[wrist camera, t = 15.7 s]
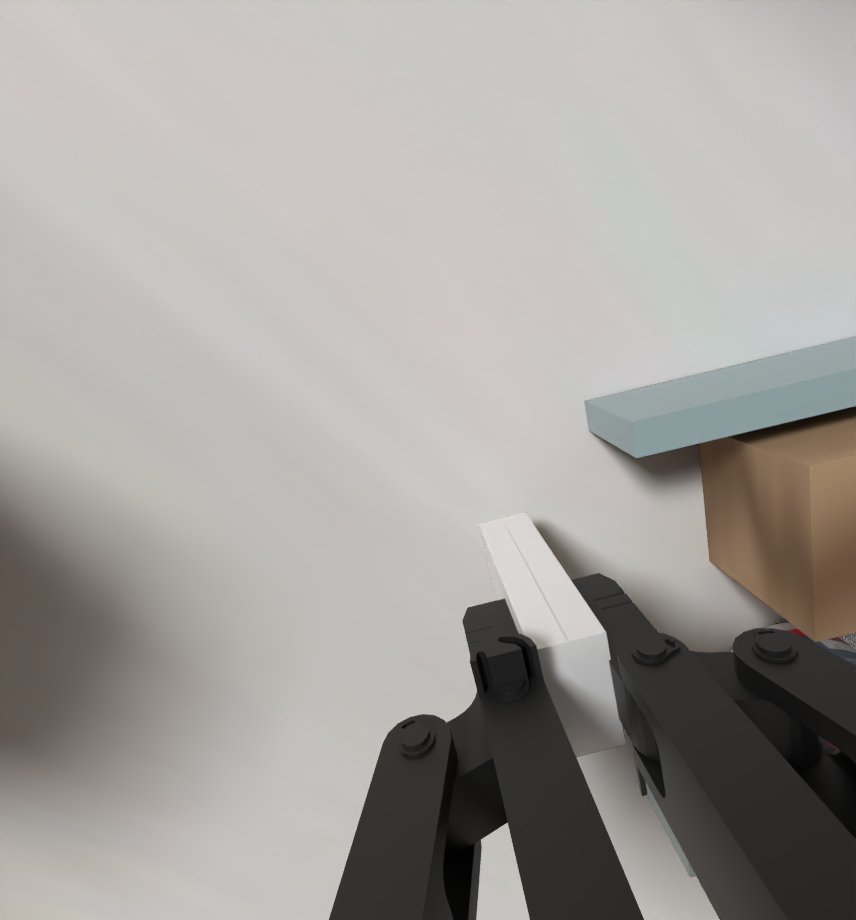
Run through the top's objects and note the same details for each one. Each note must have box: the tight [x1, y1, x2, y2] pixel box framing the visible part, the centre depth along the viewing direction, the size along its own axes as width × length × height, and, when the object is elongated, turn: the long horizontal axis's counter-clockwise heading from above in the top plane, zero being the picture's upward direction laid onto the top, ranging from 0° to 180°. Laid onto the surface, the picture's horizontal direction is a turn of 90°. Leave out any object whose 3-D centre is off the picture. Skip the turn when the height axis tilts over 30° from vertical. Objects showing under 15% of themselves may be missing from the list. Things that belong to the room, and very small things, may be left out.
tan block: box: [699, 406, 856, 642], centre depth 16 cm, size 5×5×5 cm
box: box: [585, 337, 856, 877], centre depth 18 cm, size 16×11×4 cm
